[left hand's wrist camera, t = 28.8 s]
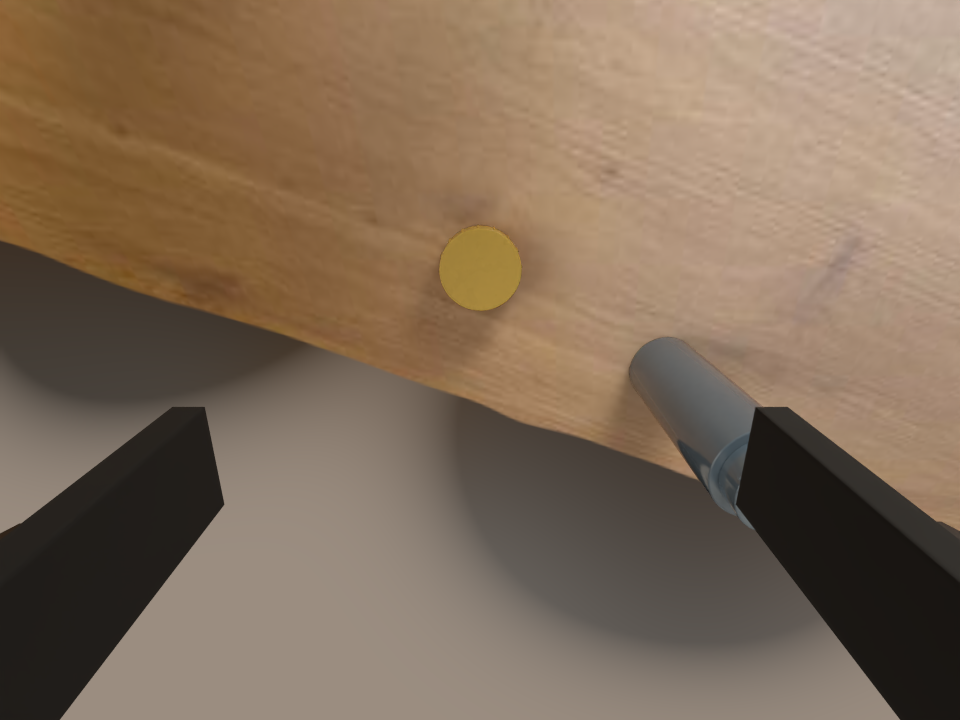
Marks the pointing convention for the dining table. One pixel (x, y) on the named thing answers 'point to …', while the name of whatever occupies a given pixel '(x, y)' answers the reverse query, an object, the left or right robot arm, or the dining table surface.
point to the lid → (480, 268)
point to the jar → (697, 414)
